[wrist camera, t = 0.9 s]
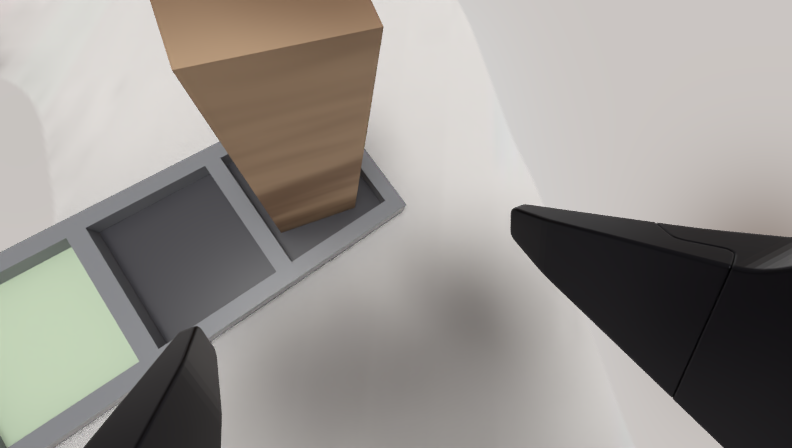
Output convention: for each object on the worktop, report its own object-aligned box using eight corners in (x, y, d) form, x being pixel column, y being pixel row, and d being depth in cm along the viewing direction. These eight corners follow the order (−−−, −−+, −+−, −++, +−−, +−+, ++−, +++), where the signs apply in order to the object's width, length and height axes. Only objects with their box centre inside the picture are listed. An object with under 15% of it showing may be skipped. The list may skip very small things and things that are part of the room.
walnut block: (354, 207, 23) (383, 26, 9) (281, 232, 22) (171, 69, 7) (329, 143, 24) (316, -116, 10) (257, 164, 23) (119, -99, 8)
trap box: (321, 103, 25) (320, 90, 24) (402, 211, 24) (406, 204, 22) (-84, 313, 18) (-121, 313, 16) (3, 481, 17) (-29, 497, 15)
